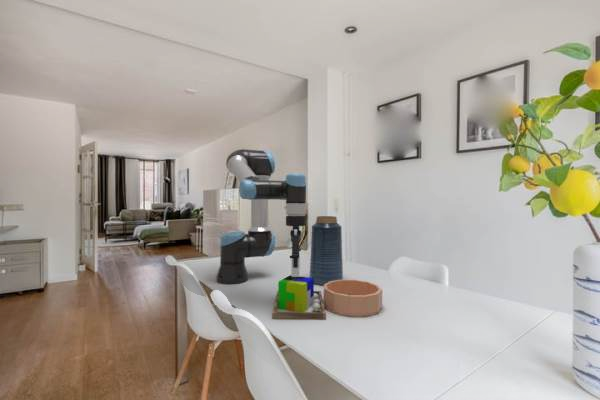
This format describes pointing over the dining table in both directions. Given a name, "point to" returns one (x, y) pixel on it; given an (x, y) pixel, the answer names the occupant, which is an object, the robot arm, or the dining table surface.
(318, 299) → the pebble
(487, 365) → the dining table surface
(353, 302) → the bowl
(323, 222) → the blue thread spool
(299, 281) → the puzzle toy
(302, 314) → the tray
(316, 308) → the pebble
